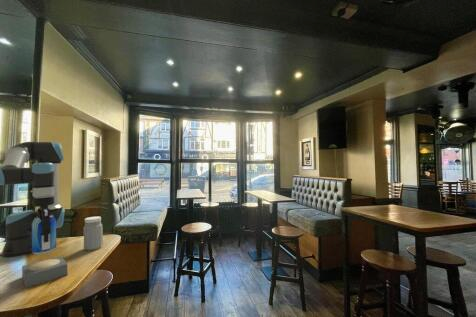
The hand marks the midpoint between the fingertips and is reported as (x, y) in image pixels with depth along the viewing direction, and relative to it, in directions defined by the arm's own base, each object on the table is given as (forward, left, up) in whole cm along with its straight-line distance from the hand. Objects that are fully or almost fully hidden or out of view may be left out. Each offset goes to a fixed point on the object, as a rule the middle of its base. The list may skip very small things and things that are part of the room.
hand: (44, 246), depth 103 cm
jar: (-22, +25, -13) cm, 36 cm away
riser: (0, 0, -13) cm, 13 cm away
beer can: (0, 0, -3) cm, 3 cm away
